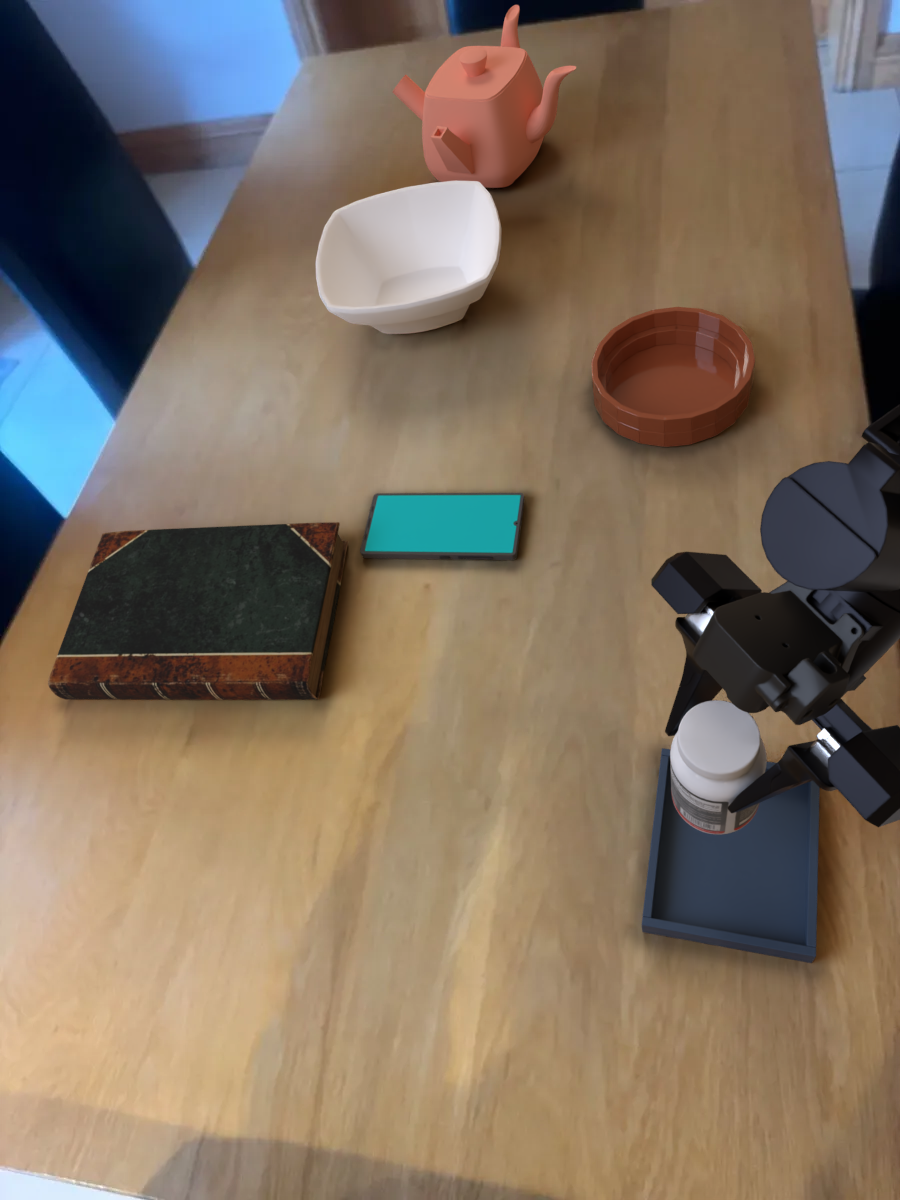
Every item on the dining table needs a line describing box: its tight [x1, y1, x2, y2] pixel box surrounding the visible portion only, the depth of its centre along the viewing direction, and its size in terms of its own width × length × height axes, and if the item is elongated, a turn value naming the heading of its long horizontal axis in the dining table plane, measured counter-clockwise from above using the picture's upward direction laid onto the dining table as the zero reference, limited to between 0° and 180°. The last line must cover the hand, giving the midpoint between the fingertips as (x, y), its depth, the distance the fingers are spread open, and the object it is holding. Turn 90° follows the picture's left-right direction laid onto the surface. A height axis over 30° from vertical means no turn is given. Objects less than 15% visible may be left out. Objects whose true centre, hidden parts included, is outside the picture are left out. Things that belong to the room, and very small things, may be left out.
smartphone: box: [359, 492, 526, 561], centre depth 87 cm, size 7×1×15 cm
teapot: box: [392, 4, 577, 189], centre depth 113 cm, size 18×18×14 cm
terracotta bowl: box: [590, 306, 756, 448], centre depth 89 cm, size 15×15×4 cm
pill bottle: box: [670, 699, 768, 834], centre depth 57 cm, size 6×6×10 cm
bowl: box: [315, 181, 502, 335], centre depth 102 cm, size 21×21×9 cm
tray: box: [641, 747, 821, 964], centre depth 65 cm, size 13×11×2 cm
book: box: [47, 521, 349, 701], centre depth 85 cm, size 17×4×25 cm
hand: (700, 770), depth 56 cm, fingers closed on pill bottle, 6 cm apart
